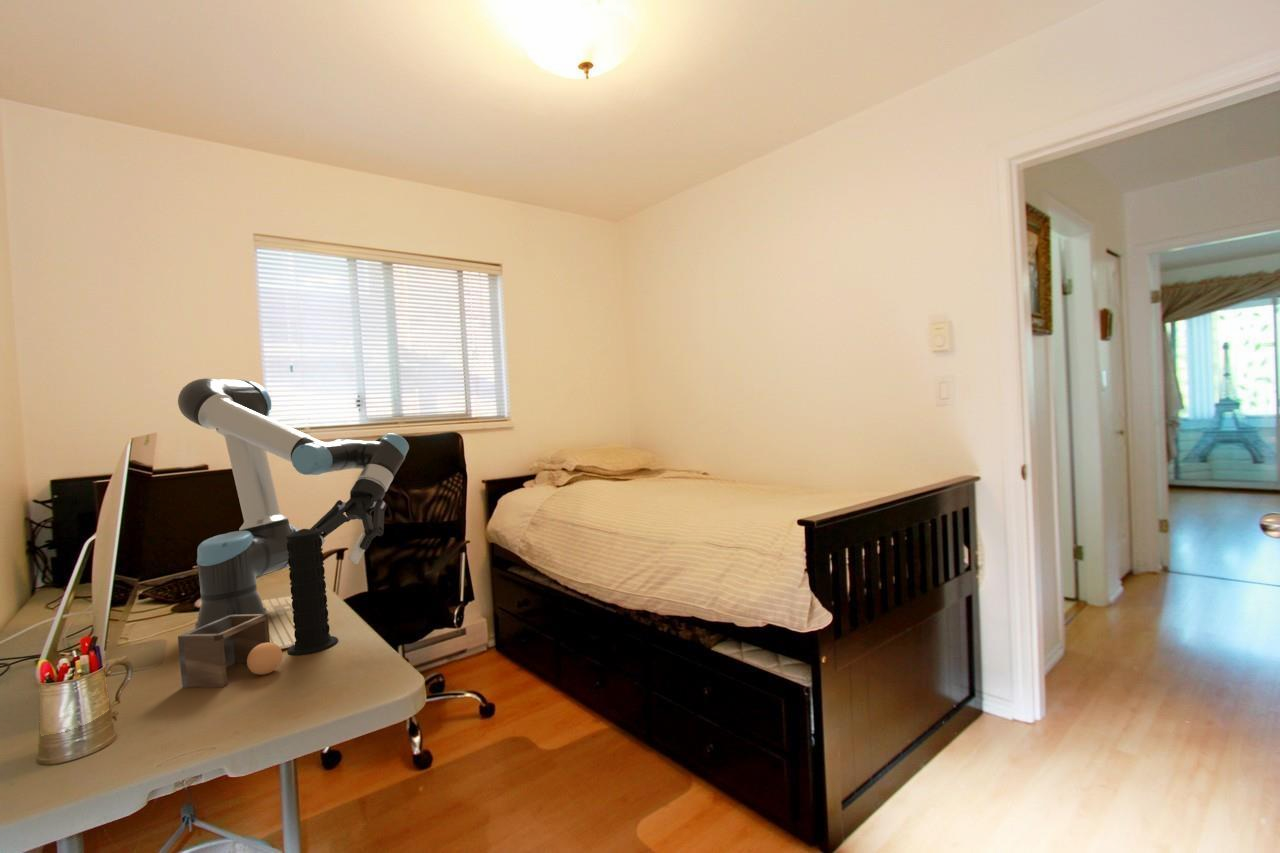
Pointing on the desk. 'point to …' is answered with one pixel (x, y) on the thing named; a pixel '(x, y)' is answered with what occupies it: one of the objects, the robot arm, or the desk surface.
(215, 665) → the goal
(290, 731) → the desk surface
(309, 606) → the handle grip
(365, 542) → the robot arm
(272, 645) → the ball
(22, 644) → the desk surface
